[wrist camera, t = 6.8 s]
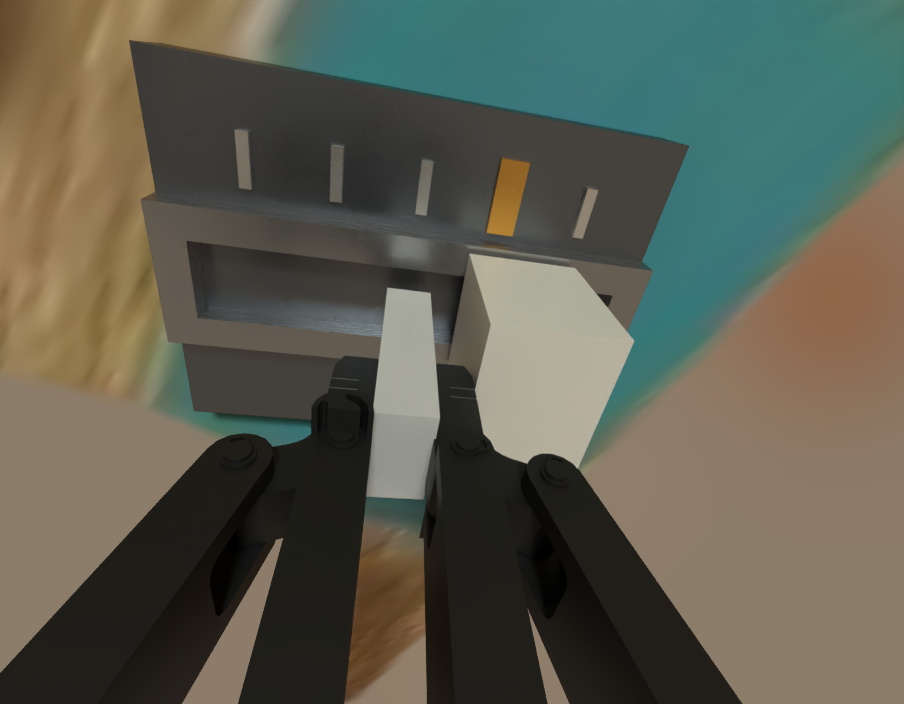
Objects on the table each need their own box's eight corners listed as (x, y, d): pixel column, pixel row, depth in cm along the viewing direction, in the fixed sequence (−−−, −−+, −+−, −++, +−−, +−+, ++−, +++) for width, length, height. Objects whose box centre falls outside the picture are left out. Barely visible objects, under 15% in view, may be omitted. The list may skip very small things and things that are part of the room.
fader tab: (445, 352, 20) (457, 462, 14) (466, 242, 17) (490, 324, 11) (532, 361, 20) (576, 470, 15) (565, 256, 18) (634, 340, 12)
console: (210, 384, 22) (184, 425, 19) (161, 43, 15) (109, 38, 12) (558, 414, 25) (574, 453, 22) (662, 138, 17) (704, 150, 15)
